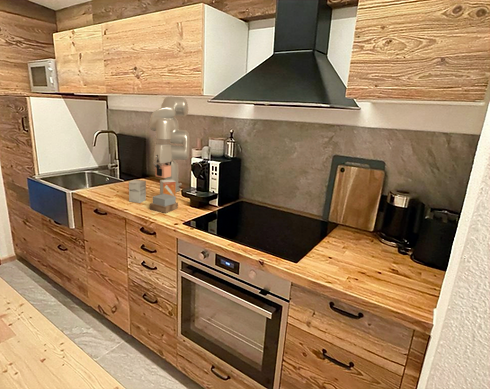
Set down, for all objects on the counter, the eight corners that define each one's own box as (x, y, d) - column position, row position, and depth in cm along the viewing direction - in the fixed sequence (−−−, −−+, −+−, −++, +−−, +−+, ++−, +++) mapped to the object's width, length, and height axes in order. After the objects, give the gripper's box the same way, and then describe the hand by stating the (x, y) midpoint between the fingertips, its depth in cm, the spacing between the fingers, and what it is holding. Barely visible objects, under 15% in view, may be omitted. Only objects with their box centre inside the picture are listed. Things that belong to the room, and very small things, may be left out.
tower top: (163, 200, 177) (163, 193, 176) (175, 203, 173) (175, 196, 172) (152, 203, 169) (152, 196, 168) (164, 206, 165) (164, 199, 164)
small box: (163, 203, 183) (163, 182, 179) (159, 200, 188) (159, 180, 184) (175, 201, 187) (175, 181, 184) (172, 198, 192) (172, 179, 189)
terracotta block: (162, 174, 171) (162, 164, 169) (171, 176, 168) (171, 165, 167) (155, 176, 165) (155, 165, 164) (164, 178, 163) (164, 167, 161)
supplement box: (128, 201, 180) (128, 181, 177) (135, 198, 187) (135, 179, 184) (139, 203, 179) (139, 183, 176) (146, 200, 186) (146, 180, 183)
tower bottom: (162, 205, 179) (162, 199, 178) (177, 209, 175) (177, 202, 174) (149, 210, 169) (149, 203, 168) (165, 214, 165) (165, 207, 164)
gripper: (167, 140, 171) (167, 171, 176) (146, 142, 156) (147, 176, 160) (178, 142, 168) (178, 173, 173) (158, 143, 153) (158, 178, 158)
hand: (163, 174), depth 167 cm, fingers closed on terracotta block, 6 cm apart
